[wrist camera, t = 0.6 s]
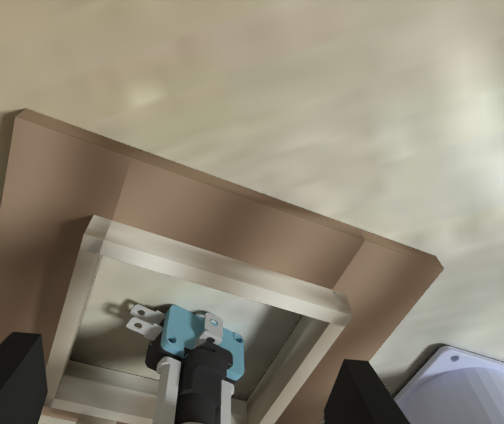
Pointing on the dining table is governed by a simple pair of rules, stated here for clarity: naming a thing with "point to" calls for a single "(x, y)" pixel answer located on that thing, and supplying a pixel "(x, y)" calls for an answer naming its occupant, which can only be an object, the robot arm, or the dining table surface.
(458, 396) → the robot arm
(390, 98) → the dining table surface
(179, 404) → the push button
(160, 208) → the brown flat rectangular frame
